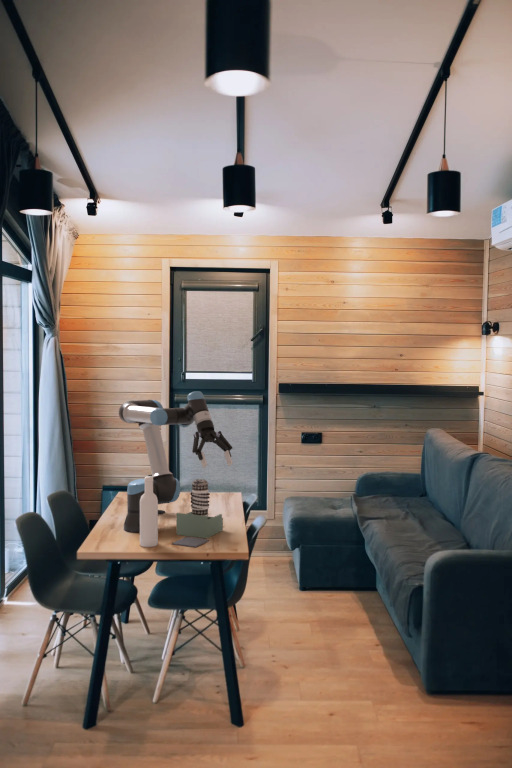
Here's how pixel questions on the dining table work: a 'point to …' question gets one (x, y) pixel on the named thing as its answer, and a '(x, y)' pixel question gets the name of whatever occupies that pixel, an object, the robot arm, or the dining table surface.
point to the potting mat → (190, 542)
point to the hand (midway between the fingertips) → (218, 465)
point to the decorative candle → (200, 497)
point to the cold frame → (198, 525)
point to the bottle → (148, 515)
